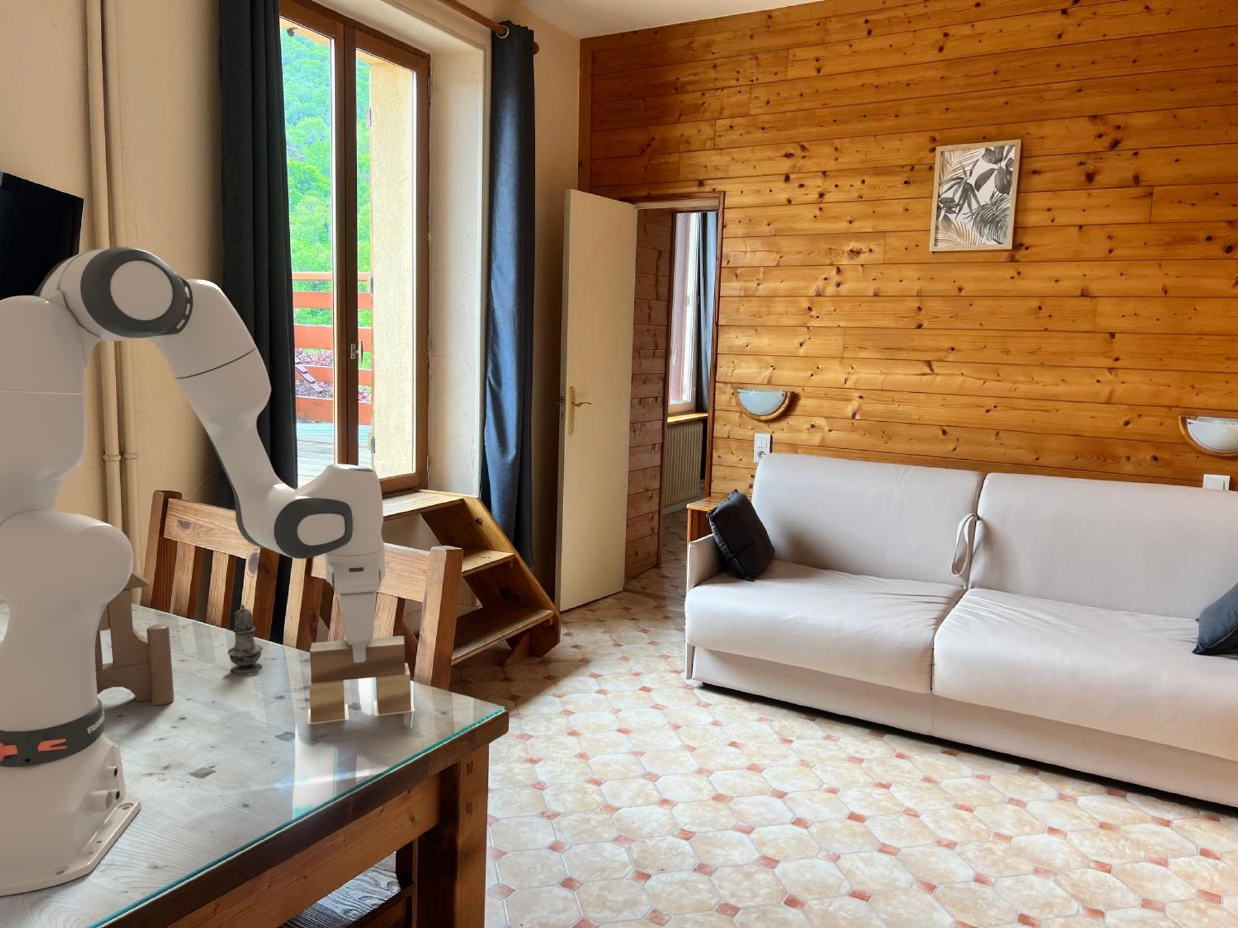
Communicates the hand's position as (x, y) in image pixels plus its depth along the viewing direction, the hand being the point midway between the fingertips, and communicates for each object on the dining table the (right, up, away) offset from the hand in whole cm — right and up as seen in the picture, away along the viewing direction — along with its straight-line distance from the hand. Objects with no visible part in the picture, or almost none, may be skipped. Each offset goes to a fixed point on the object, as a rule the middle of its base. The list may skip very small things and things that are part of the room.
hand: (358, 653), depth 139 cm
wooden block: (0, -3, 0) cm, 3 cm away
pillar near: (-5, -10, 0) cm, 11 cm away
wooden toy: (-40, -10, +4) cm, 41 cm away
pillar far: (+5, -9, +3) cm, 11 cm away
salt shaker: (-26, -7, +20) cm, 34 cm away
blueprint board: (0, -10, +1) cm, 10 cm away
